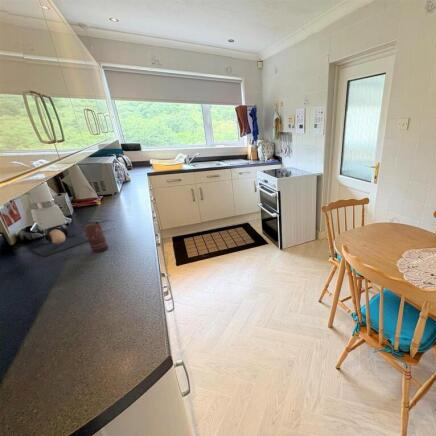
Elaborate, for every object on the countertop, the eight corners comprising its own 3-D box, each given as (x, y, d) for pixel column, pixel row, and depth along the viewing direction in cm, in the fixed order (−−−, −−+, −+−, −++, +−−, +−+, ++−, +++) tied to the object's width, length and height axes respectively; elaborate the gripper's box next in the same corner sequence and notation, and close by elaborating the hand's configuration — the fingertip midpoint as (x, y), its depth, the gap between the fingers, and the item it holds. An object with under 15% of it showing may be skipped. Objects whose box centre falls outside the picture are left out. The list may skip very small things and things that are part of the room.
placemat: (44, 256, 107) (44, 256, 107) (29, 249, 113) (29, 248, 113) (89, 240, 122) (89, 240, 122) (74, 235, 129) (73, 234, 128)
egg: (65, 239, 121) (60, 226, 118) (69, 242, 118) (63, 229, 115) (50, 244, 117) (44, 230, 114) (53, 247, 114) (47, 233, 111)
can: (110, 245, 117) (102, 220, 112) (105, 251, 111) (96, 225, 106) (96, 247, 115) (86, 221, 110) (90, 253, 110) (80, 226, 104)
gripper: (62, 199, 119) (74, 230, 125) (14, 208, 104) (31, 244, 111) (70, 200, 116) (82, 233, 122) (21, 211, 101) (38, 247, 108)
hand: (57, 238), depth 116 cm, fingers closed on egg, 5 cm apart
